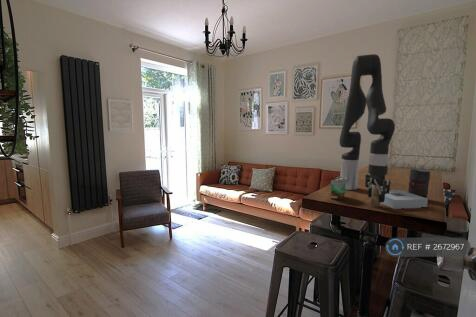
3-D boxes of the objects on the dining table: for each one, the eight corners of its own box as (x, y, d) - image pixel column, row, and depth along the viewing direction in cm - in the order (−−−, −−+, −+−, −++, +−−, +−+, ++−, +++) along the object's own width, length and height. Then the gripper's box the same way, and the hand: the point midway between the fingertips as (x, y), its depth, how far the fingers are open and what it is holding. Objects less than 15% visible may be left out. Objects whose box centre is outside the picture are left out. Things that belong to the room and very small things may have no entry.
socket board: (371, 198, 125) (371, 190, 124) (400, 197, 127) (400, 189, 126) (393, 208, 109) (394, 200, 109) (427, 207, 111) (427, 198, 110)
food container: (342, 201, 120) (343, 181, 118) (330, 199, 123) (330, 180, 122) (349, 196, 129) (350, 177, 128) (337, 194, 133) (337, 176, 132)
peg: (369, 205, 114) (370, 184, 113) (376, 205, 114) (377, 184, 113) (374, 208, 111) (375, 186, 109) (381, 207, 111) (383, 186, 110)
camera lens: (419, 202, 118) (421, 171, 116) (403, 197, 126) (406, 168, 124) (431, 200, 120) (434, 170, 118) (415, 196, 128) (418, 168, 126)
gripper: (360, 161, 117) (358, 195, 119) (381, 166, 102) (378, 204, 105) (375, 161, 117) (373, 195, 120) (398, 166, 103) (395, 204, 105)
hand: (375, 199), depth 112 cm, fingers open, 7 cm apart
